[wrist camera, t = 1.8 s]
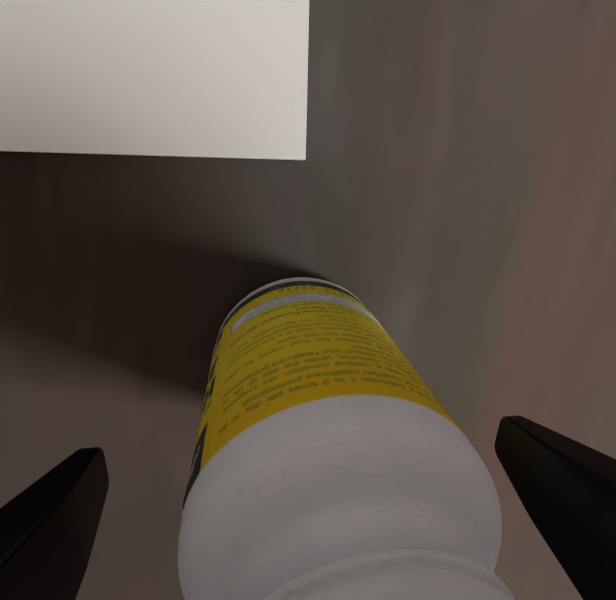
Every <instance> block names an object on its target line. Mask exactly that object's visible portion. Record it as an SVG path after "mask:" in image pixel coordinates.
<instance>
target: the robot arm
mask: <svg viewBox="0 0 616 600" xmlns="http://www.w3.org/2000/svg"><path fill="white" fill-rule="evenodd" d="M495 452H496V454H497V457H498V459H499V460H500V462H501V464H502V466H503V468H504V470H505V472H506V474H507V475H508V477H509V479H510V481H511V483H512V485H513V487H514V489H515V491H516V492H517V494H518V496H519V498H520V500H521V502H522V504H523V506H524V507H525V509H526V511H527V513H528V514H529V516H530V518H531V519H532V521H533V523H534V524H535V526H536V528H537V529H538V531H539V532H540V534H541V535H542V537H543V538H544V540H545V541H546V543H547V544H548V546H549V548H550V549H551V551H552V552H553V554H554V555H555V557H556V558H557V560H558V561H559V563H560V564H561V566H562V568H563V569H564V571H565V572H566V574H567V575H568V577H569V578H570V580H571V581H572V583H573V585H574V586H575V588H576V589H577V591H578V592H579V594H580V595H581V597H582V598H583V600H616V459H614V458H612V457H609V456H607V455H605V454H603V453H601V452H599V451H596V450H594V449H592V448H590V447H588V446H585V445H583V444H581V443H579V442H577V441H575V440H572V439H570V438H568V437H566V436H564V435H561V434H559V433H557V432H555V431H553V430H550V429H548V428H546V427H544V426H542V425H540V424H537V423H535V422H533V421H531V420H529V419H526V418H524V417H522V416H506V417H503V418H502V419H501V421H500V424H499V428H498V432H497V436H496V441H495ZM108 486H109V478H108V472H107V467H106V462H105V456H104V452H103V450H102V449H101V448H99V447H94V448H82V449H79V450H77V451H76V452H74V453H73V454H72V455H70V456H69V457H68V458H66V459H65V460H64V461H62V462H61V463H60V464H58V465H57V466H56V467H54V468H53V469H52V470H50V471H49V472H48V473H46V474H45V475H44V476H42V477H41V478H40V479H38V480H37V481H36V482H34V483H33V484H32V485H30V486H29V487H28V488H26V489H25V490H24V491H22V492H21V493H20V494H19V495H17V496H16V497H15V498H13V499H12V500H11V501H9V502H8V503H7V504H5V505H4V506H3V507H1V508H0V600H75V599H76V596H77V593H78V591H79V588H80V585H81V583H82V580H83V577H84V574H85V571H86V569H87V565H88V562H89V558H90V555H91V551H92V547H93V544H94V540H95V536H96V532H97V529H98V525H99V521H100V517H101V514H102V510H103V506H104V503H105V499H106V495H107V491H108Z"/></svg>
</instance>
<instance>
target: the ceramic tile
mask: <svg viewBox="0 0 616 600" xmlns="http://www.w3.org/2000/svg"><path fill="white" fill-rule="evenodd" d="M308 32H309V0H0V151H10V152H43V153H77V154H110V155H144V156H177V157H211V158H244V159H278V160H306V118H307V75H308Z"/></svg>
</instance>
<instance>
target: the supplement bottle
mask: <svg viewBox="0 0 616 600" xmlns="http://www.w3.org/2000/svg"><path fill="white" fill-rule="evenodd" d="M501 536H502V517H501V507H500V502H499V498H498V495H497V491H496V488H495V486H494V483H493V480H492V478H491V476H490V473H489V471H488V469H487V467H486V466H485V464H484V463H483V461H482V459H481V458H480V456H479V455H478V453H477V452H476V450H475V449H474V447H473V446H472V444H471V443H470V442H469V440H468V439H467V437H466V436H465V435H464V433H463V432H462V431H461V429H460V428H459V427H458V425H457V424H456V423H455V421H454V420H453V419H452V417H451V416H450V415H449V413H448V412H447V411H446V410H445V408H444V407H443V406H442V404H441V403H440V402H439V401H438V399H437V398H436V397H435V395H434V394H433V393H432V392H431V390H430V389H429V388H428V386H427V385H426V384H425V383H424V381H423V380H422V379H421V377H420V376H419V375H418V373H417V372H416V371H415V369H414V368H413V367H412V365H411V364H410V363H409V361H408V360H407V359H406V357H405V356H404V355H403V354H402V352H401V351H400V350H399V349H398V347H397V346H396V345H395V343H394V342H393V341H392V339H391V338H390V337H389V335H388V334H387V333H386V331H385V330H384V329H383V327H382V326H381V325H380V324H379V322H378V321H377V320H376V318H375V317H374V316H373V315H372V313H371V312H370V311H369V310H368V308H367V307H366V306H365V305H364V304H363V303H362V302H361V301H360V300H359V299H358V298H357V297H356V296H354V295H353V294H352V293H351V292H349V291H348V290H346V289H345V288H343V287H341V286H339V285H337V284H334V283H331V282H329V281H326V280H321V279H316V278H307V277H295V278H287V279H282V280H278V281H275V282H272V283H269V284H267V285H265V286H262V287H260V288H258V289H257V290H255V291H253V292H252V293H250V294H248V295H247V296H246V297H245V298H243V299H242V300H241V301H240V302H239V303H238V304H237V305H236V306H235V307H234V308H233V309H232V310H231V312H230V313H229V314H228V316H227V317H226V319H225V320H224V322H223V324H222V326H221V328H220V331H219V333H218V336H217V339H216V343H215V347H214V351H213V354H212V360H211V366H210V372H209V376H208V381H207V388H206V392H205V397H204V402H203V408H202V413H201V418H200V424H199V430H198V435H197V440H196V445H195V451H194V455H193V459H192V465H191V470H190V475H189V480H188V485H187V488H186V493H185V497H184V502H183V513H182V521H181V528H180V534H179V541H178V573H179V579H180V584H181V590H182V593H183V596H184V599H185V600H515V599H514V596H513V594H512V592H511V591H510V589H509V588H508V587H507V586H506V584H505V583H504V582H503V581H502V580H501V578H499V577H498V576H497V575H496V574H495V573H494V572H493V571H494V569H495V566H496V563H497V559H498V555H499V551H500V545H501Z"/></svg>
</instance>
